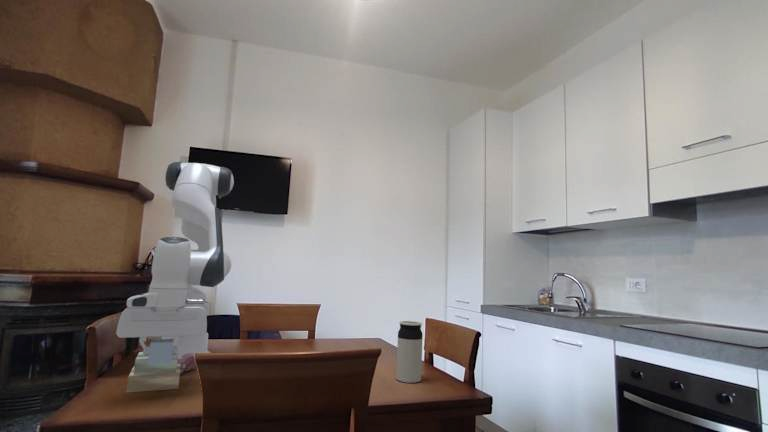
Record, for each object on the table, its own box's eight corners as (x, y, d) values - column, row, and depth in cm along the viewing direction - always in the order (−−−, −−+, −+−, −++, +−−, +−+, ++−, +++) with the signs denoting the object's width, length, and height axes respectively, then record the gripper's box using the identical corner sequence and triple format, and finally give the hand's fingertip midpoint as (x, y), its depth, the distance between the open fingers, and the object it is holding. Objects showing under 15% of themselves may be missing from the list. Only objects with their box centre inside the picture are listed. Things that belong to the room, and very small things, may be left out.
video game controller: (172, 381, 117) (184, 361, 118) (161, 373, 118) (173, 352, 119) (194, 374, 127) (205, 354, 127) (183, 366, 128) (194, 347, 128)
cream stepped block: (131, 380, 112) (135, 351, 113) (179, 377, 117) (182, 349, 118) (126, 392, 101) (130, 360, 102) (178, 388, 106) (181, 357, 107)
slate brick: (149, 359, 101) (152, 339, 101) (171, 358, 103) (173, 338, 103) (147, 364, 96) (150, 343, 97) (170, 362, 98) (173, 342, 99)
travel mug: (412, 385, 120) (414, 324, 123) (391, 379, 125) (393, 321, 127) (425, 380, 126) (427, 322, 129) (405, 375, 131) (407, 320, 134)
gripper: (210, 298, 109) (205, 349, 107) (123, 297, 100) (115, 353, 98) (211, 300, 103) (205, 354, 101) (119, 300, 94) (111, 359, 93)
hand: (160, 354), depth 100 cm, fingers closed on slate brick, 5 cm apart
